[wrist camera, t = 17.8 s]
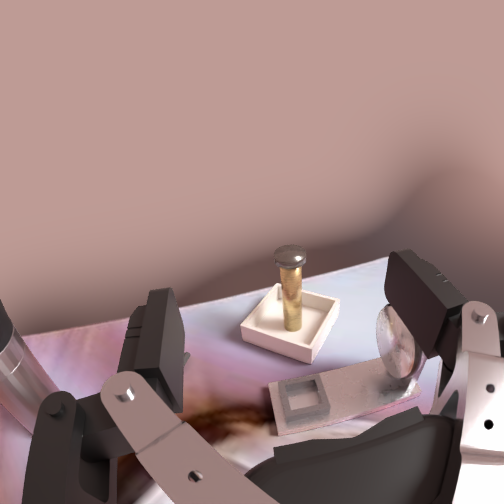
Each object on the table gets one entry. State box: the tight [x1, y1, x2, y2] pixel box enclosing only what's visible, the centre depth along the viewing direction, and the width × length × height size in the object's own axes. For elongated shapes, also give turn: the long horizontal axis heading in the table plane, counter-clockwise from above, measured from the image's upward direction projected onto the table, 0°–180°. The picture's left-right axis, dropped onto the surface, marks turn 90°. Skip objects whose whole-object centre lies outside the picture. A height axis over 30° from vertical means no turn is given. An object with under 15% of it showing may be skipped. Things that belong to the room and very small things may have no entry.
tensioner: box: [268, 304, 427, 436], centre depth 34 cm, size 20×10×14 cm, turn 97°
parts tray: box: [240, 283, 340, 364], centre depth 49 cm, size 12×12×4 cm
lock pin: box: [274, 245, 306, 332], centre depth 46 cm, size 4×4×14 cm
